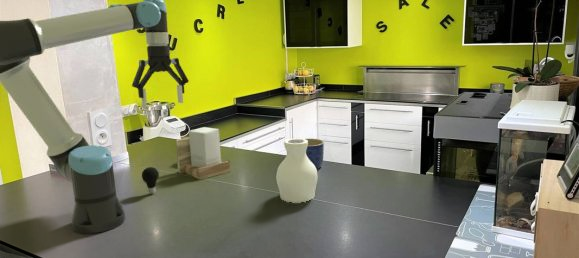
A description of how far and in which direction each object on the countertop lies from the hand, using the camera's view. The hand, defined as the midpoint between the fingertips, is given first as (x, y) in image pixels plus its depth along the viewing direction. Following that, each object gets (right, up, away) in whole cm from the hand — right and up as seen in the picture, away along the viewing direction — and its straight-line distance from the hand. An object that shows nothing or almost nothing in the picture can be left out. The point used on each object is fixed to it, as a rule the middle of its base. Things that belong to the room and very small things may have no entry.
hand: (163, 104), depth 156 cm
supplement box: (+11, -24, +23) cm, 35 cm away
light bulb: (-4, -32, 0) cm, 33 cm away
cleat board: (+11, -26, +24) cm, 37 cm away
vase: (+49, -32, -6) cm, 59 cm away
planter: (+54, -25, +26) cm, 65 cm away
